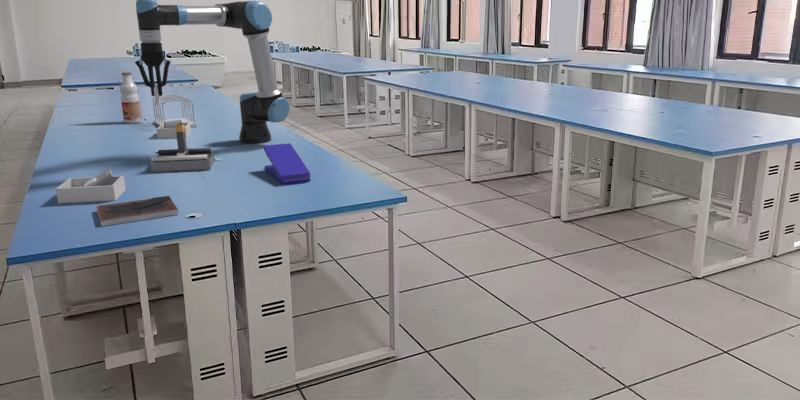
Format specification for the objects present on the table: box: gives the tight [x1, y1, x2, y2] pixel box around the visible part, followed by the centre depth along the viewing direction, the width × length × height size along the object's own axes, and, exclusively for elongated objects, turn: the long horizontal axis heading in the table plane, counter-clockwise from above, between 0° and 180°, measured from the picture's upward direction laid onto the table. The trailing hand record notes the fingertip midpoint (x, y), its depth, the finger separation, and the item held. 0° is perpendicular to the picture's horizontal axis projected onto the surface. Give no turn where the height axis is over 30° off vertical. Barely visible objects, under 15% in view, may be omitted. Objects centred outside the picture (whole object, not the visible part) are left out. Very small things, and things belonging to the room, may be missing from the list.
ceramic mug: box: [164, 120, 182, 128], centre depth 307 cm, size 11×8×8 cm
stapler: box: [263, 143, 311, 186], centre depth 232 cm, size 12×28×10 cm, turn 26°
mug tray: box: [156, 122, 192, 140], centre depth 309 cm, size 14×16×5 cm
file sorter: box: [152, 94, 197, 128], centre depth 336 cm, size 25×17×16 cm
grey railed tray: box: [150, 147, 212, 162], centre depth 245 cm, size 21×15×2 cm
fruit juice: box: [119, 71, 143, 125], centre depth 343 cm, size 9×9×28 cm
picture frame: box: [96, 195, 180, 227], centre depth 189 cm, size 16×2×22 cm
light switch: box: [81, 168, 114, 187], centre depth 207 cm, size 8×6×14 cm
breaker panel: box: [150, 147, 216, 174], centre depth 245 cm, size 22×16×6 cm
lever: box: [175, 123, 188, 154], centre depth 243 cm, size 3×7×13 cm, turn 10°
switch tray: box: [55, 175, 126, 204], centre depth 206 cm, size 18×14×5 cm
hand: (158, 104), depth 238 cm, fingers closed
